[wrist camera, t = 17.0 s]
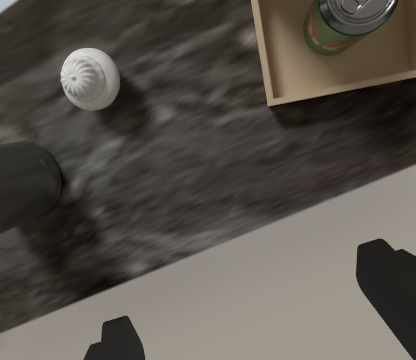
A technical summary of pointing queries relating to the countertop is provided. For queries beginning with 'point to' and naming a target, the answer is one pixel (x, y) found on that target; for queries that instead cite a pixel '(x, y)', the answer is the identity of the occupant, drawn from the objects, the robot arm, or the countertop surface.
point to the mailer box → (329, 65)
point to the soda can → (343, 23)
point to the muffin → (90, 79)
